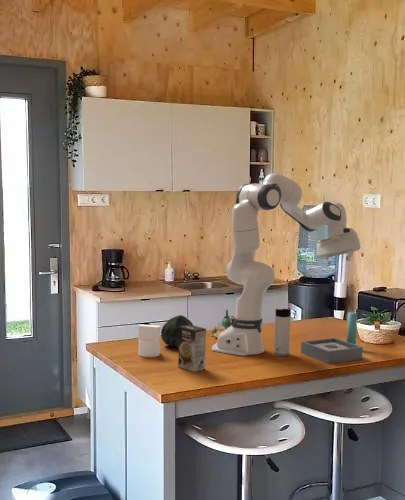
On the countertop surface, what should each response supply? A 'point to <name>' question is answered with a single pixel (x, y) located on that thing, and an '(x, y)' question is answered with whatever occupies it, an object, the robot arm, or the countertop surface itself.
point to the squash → (173, 330)
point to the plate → (331, 346)
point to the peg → (352, 328)
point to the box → (331, 351)
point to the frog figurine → (224, 323)
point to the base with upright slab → (149, 340)
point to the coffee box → (192, 347)
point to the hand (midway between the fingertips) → (338, 262)
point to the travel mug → (282, 332)
